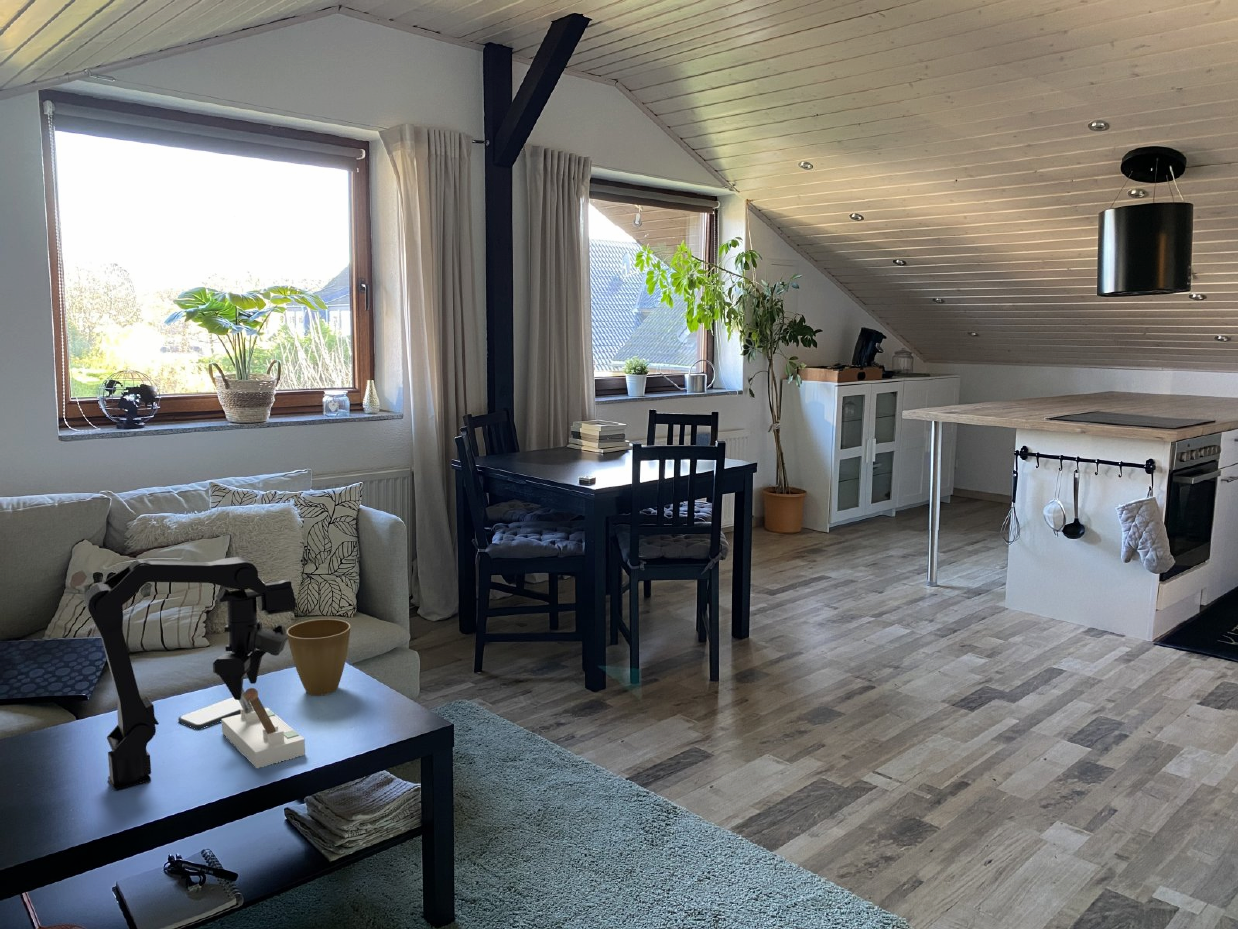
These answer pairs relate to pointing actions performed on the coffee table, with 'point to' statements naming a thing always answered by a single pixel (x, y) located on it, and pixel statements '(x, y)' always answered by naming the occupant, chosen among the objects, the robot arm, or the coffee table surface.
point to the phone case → (212, 713)
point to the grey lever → (245, 703)
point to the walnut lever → (259, 710)
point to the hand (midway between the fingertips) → (245, 691)
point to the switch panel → (263, 738)
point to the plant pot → (319, 653)
